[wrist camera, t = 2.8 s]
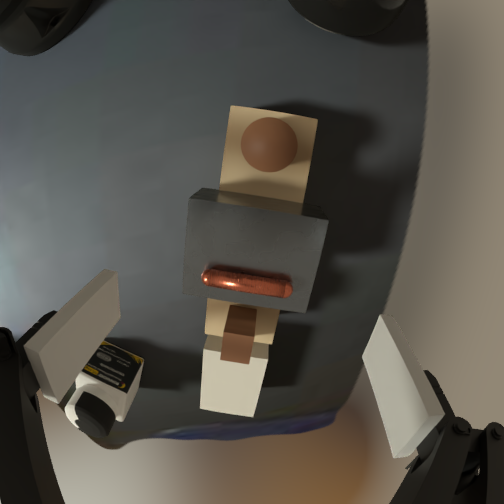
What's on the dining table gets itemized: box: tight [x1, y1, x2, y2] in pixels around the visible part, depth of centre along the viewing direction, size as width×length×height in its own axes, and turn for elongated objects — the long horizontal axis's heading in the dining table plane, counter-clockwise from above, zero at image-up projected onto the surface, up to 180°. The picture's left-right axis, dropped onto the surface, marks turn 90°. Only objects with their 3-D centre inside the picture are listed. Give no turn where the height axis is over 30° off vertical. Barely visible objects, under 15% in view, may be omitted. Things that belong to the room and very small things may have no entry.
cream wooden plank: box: [205, 106, 318, 364], centre depth 24 cm, size 20×6×9 cm, turn 172°
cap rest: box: [200, 334, 269, 417], centre depth 32 cm, size 10×6×5 cm, turn 172°
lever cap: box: [183, 188, 329, 313], centre depth 21 cm, size 7×9×5 cm
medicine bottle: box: [65, 340, 144, 438], centre depth 31 cm, size 7×7×12 cm
